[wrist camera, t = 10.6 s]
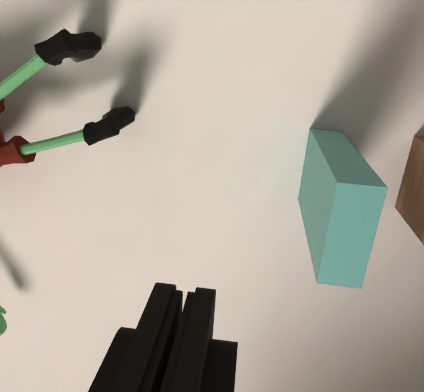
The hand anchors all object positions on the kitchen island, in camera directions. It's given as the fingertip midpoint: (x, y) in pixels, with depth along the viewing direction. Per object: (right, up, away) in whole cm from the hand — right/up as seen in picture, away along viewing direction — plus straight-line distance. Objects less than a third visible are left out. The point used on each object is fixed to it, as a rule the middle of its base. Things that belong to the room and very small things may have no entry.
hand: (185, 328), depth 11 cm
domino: (+8, +6, +15) cm, 18 cm away
